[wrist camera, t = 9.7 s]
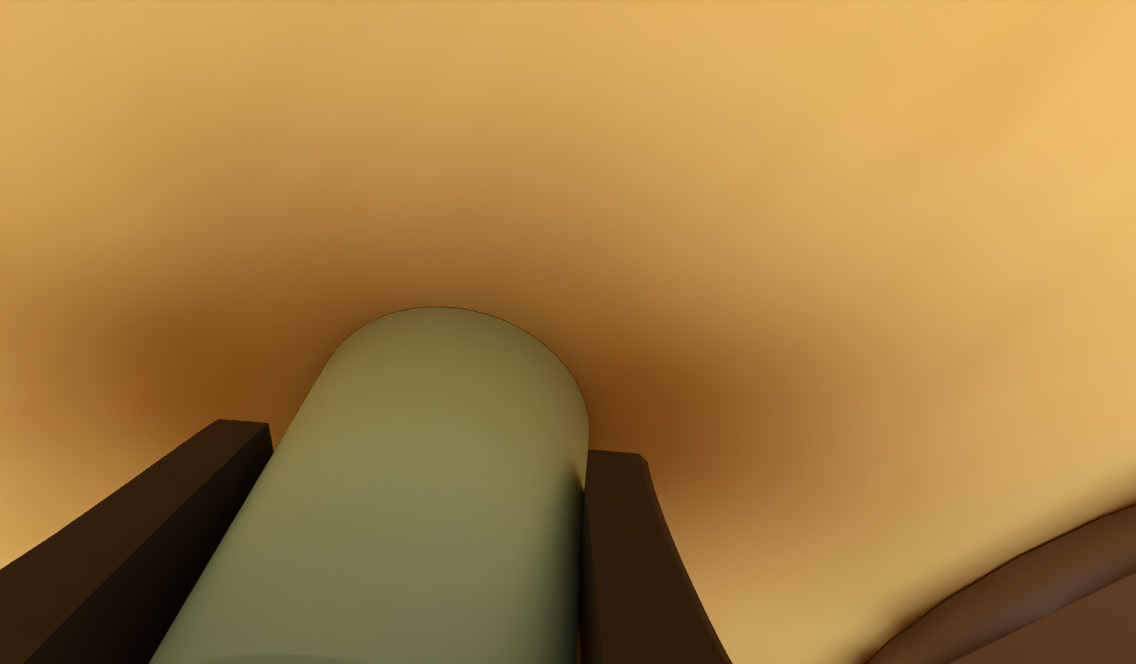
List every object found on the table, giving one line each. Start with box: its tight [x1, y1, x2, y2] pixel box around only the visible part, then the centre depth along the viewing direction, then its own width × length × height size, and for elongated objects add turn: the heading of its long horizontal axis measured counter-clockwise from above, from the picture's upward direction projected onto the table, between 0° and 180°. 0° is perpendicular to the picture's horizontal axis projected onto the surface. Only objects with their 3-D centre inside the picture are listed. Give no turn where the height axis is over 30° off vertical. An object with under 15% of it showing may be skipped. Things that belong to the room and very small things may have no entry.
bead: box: [149, 307, 589, 664], centre depth 9 cm, size 4×4×5 cm
